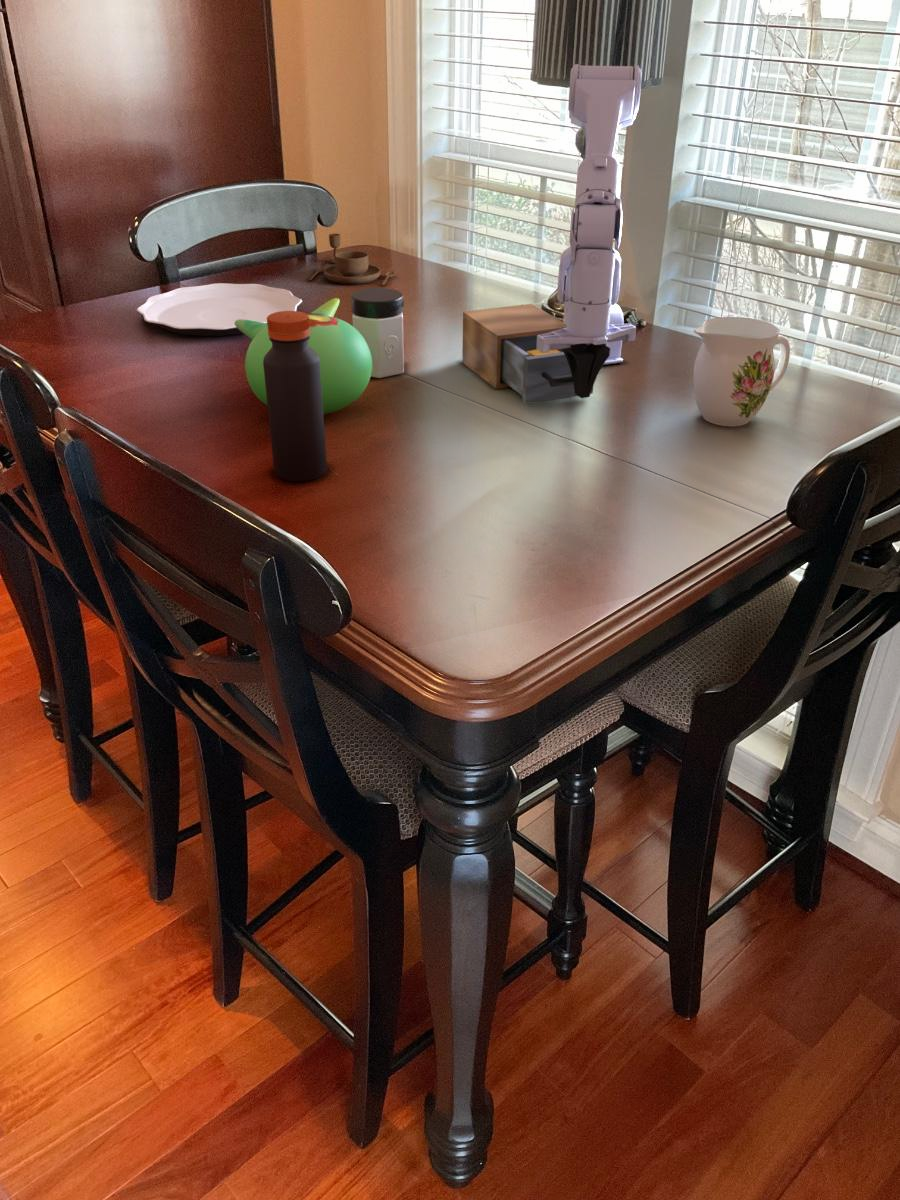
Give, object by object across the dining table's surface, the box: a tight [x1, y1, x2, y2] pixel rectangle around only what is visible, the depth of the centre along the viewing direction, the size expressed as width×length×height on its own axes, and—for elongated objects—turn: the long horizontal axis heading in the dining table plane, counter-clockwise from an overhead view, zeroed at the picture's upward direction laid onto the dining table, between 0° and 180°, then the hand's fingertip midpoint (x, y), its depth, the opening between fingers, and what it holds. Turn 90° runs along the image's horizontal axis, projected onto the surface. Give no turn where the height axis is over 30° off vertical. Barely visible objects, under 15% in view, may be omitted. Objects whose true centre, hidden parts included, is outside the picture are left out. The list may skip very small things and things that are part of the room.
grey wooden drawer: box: [500, 335, 594, 405], centre depth 147 cm, size 16×11×7 cm
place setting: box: [308, 233, 395, 286], centre depth 208 cm, size 18×20×6 cm
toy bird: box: [234, 297, 372, 416], centre depth 140 cm, size 18×17×15 cm
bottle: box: [263, 310, 328, 483], centre depth 120 cm, size 7×7×20 cm
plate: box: [136, 282, 303, 337], centre depth 182 cm, size 29×29×2 cm
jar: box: [350, 287, 405, 379], centre depth 155 cm, size 9×8×12 cm
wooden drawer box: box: [461, 303, 567, 390], centre depth 156 cm, size 13×12×8 cm
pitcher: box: [692, 316, 791, 427], centre depth 139 cm, size 11×18×14 cm, turn 117°
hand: (582, 395), depth 139 cm, fingers closed
